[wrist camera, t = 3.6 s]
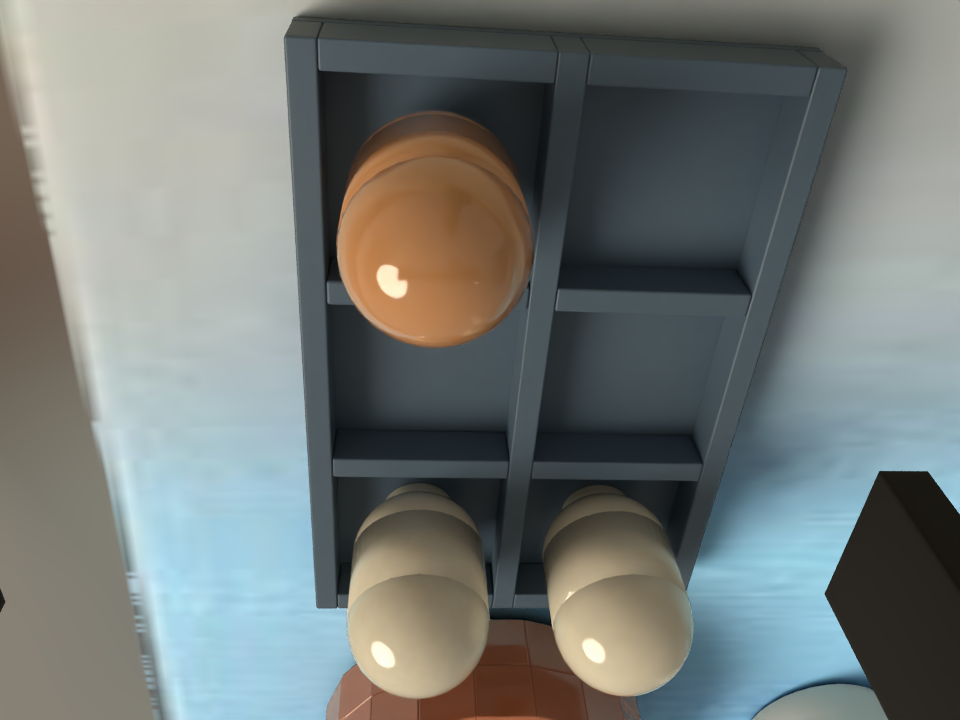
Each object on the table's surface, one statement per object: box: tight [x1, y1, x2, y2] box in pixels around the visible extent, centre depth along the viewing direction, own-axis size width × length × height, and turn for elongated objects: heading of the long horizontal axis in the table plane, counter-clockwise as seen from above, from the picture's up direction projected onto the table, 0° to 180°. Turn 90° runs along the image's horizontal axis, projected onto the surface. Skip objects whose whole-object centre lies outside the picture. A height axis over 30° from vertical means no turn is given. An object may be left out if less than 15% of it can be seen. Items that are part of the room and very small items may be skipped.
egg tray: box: [284, 17, 847, 608], centre depth 28 cm, size 14×21×2 cm
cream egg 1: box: [347, 483, 490, 699], centre depth 29 cm, size 5×5×8 cm
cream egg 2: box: [542, 485, 694, 697], centre depth 29 cm, size 5×5×8 cm
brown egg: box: [337, 110, 534, 349], centre depth 21 cm, size 5×5×8 cm
